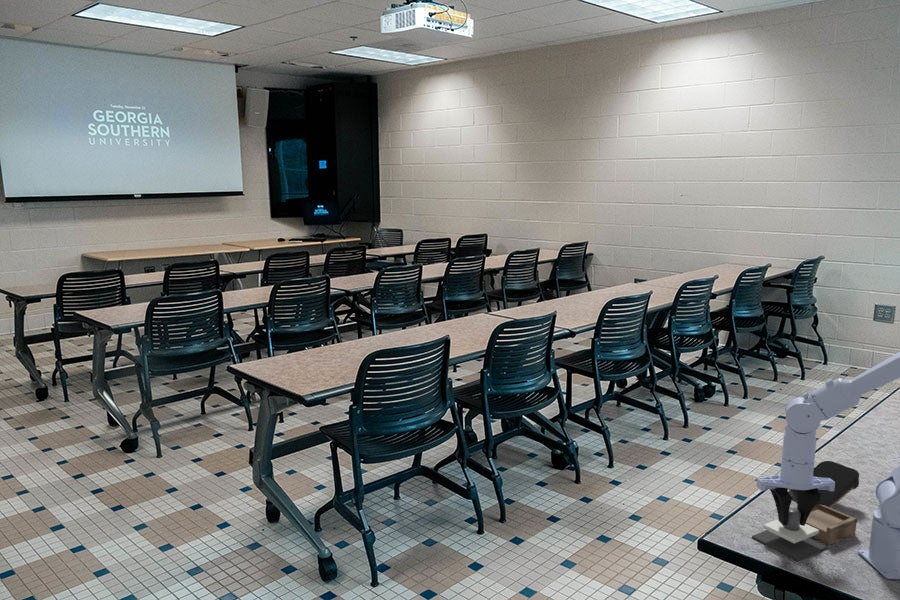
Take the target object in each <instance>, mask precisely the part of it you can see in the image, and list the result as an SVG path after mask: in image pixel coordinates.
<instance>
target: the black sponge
mask: <svg viewBox="0 0 900 600" xmlns="http://www.w3.org/2000/svg"><path fill="white" fill-rule="evenodd" d="M813 477H820V478H830V479H831V480H833V481H834V482H835V489H834V491H828V490H818V492H819V493H820V494H821V500H820V501H819V502H818V503H817V504H822V505H825V506H828V507H830V508H833V506H835V505H836V504H838V502H839V501H841V500H842V499H843V498H844V497H845V496H846V495H847V494H849V493H850V492H851V491H853V490H856V489H857V488H858V487H859V485H860V473H859V471H858V470H857V469H854V468H851V467H848V466H845V465H844V464H842V463H838V462H835V461H832V460H823V461H821V462H819V463H818V464H817V465H816V466H814V470H813ZM788 492H789V495H790V496H791V497H792V498H793V499H792V502H794V503H795V504H797V490H795V489H788Z"/></svg>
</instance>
